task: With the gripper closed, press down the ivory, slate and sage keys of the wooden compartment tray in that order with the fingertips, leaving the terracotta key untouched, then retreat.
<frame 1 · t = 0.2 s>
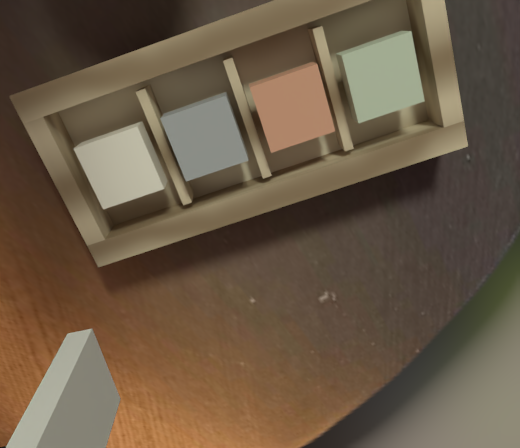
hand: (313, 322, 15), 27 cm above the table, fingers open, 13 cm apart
key sage: (379, 77, 34), point 5 cm above the table, slide at 0.0 cm
key terracotta: (291, 107, 34), point 4 cm above the table, slide at 0.0 cm
key ivory: (122, 165, 35), point 5 cm above the table, slide at 0.0 cm
key slate: (206, 136, 35), point 4 cm above the table, slide at 0.0 cm
wooden compartment tray: (246, 112, 39), on the table
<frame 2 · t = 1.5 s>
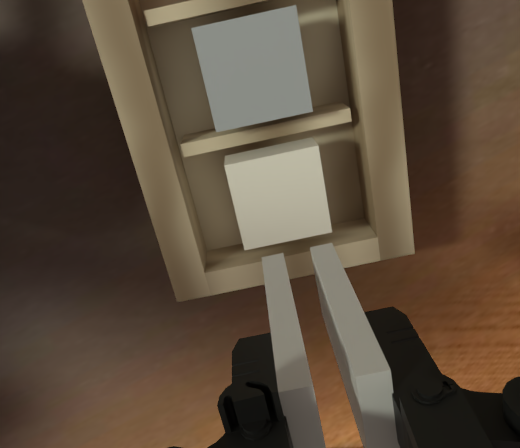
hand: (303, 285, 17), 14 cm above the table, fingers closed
key ivory: (278, 193, 26), point 4 cm above the table, slide at 0.0 cm
key slate: (253, 69, 23), point 5 cm above the table, slide at 0.0 cm
wooden compartment tray: (238, 2, 26), on the table
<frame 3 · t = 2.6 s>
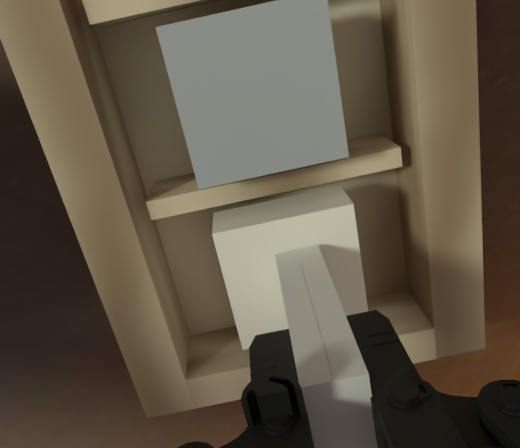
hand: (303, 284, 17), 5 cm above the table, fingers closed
key ivory: (291, 267, 18), point 4 cm above the table, slide at 0.3 cm, touching gripper
key slate: (256, 91, 15), point 4 cm above the table, slide at 0.0 cm
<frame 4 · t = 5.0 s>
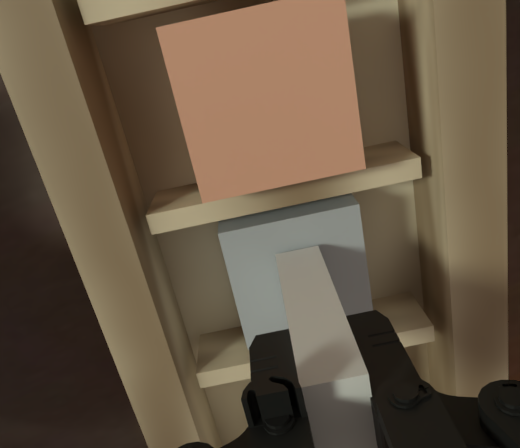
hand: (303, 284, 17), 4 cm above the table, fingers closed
key terracotta: (265, 97, 14), point 4 cm above the table, slide at 0.0 cm
key slate: (296, 268, 18), point 3 cm above the table, slide at 1.6 cm, touching gripper
wooden compartment tray: (273, 164, 19), on the table
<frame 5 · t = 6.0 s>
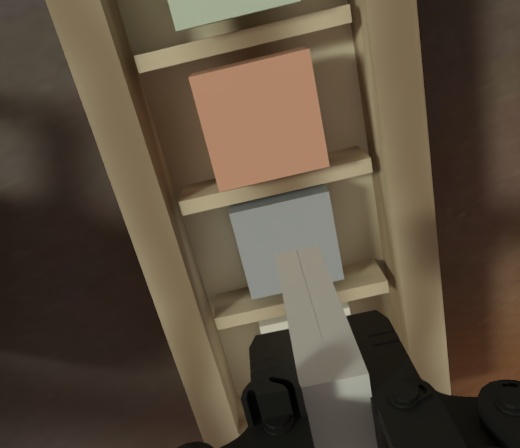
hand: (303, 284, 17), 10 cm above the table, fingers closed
key terracotta: (260, 119, 20), point 5 cm above the table, slide at 0.0 cm
key ivory: (309, 342, 27), point 3 cm above the table, slide at 1.7 cm
key slate: (286, 239, 24), point 3 cm above the table, slide at 1.7 cm
wooden compartment tray: (269, 164, 26), on the table
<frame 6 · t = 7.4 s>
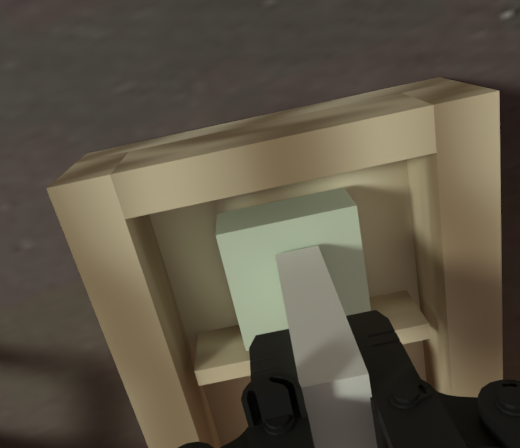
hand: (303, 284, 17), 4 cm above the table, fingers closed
key sage: (294, 269, 18), point 3 cm above the table, slide at 1.4 cm, touching gripper
wooden compartment tray: (320, 408, 24), on the table
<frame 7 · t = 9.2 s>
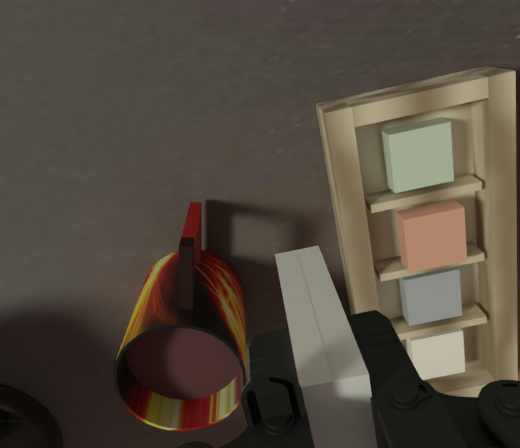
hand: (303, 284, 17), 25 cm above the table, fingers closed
key sage: (417, 155, 39), point 3 cm above the table, slide at 1.7 cm
key terracotta: (431, 236, 39), point 4 cm above the table, slide at 0.0 cm
mug: (185, 276, 45), on the table
key ivory: (434, 350, 46), point 3 cm above the table, slide at 1.7 cm
key slate: (429, 292, 44), point 3 cm above the table, slide at 1.7 cm
wooden compartment tray: (416, 247, 45), on the table
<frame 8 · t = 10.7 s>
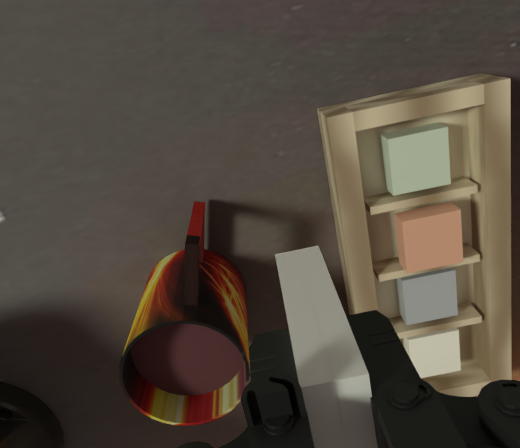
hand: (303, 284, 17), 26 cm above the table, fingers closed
key sage: (415, 159, 40), point 3 cm above the table, slide at 1.7 cm
key terracotta: (428, 237, 41), point 5 cm above the table, slide at 0.0 cm
mug: (187, 274, 46), on the table
key ivory: (431, 349, 47), point 3 cm above the table, slide at 1.7 cm
key slate: (426, 292, 45), point 3 cm above the table, slide at 1.7 cm
wooden compartment tray: (413, 249, 46), on the table
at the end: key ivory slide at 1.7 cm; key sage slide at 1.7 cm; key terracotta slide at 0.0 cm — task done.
